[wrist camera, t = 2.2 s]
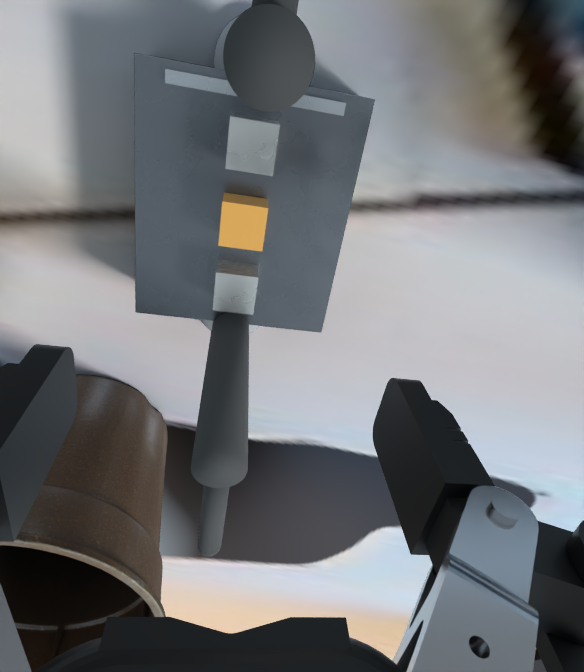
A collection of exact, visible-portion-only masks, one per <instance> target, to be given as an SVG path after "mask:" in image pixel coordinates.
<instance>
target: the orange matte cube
mask: <svg viewBox="0 0 584 672" xmlns="http://www.w3.org/2000/svg"><path fill="white" fill-rule="evenodd" d="M267 215H268V201H267V199H265V198H258V197H252V196H245V195H239V194H232V193H225V192H224V196H223V200H222V210H221V221H220V232H219V243H218V246H224V247H231V248H239V249H246V250H254V251H261V252H262V250H263V243H264V236H265V229H266V222H267Z"/></svg>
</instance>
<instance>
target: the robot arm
mask: <svg viewBox="0 0 584 672" xmlns="http://www.w3.org/2000/svg"><path fill="white" fill-rule="evenodd" d="M76 409H77V390H76V378H75V366H74V355H73V351H72V349H71V348H70V347H60V346H50V345H39V344H36V345H34V346H33V347H32V348H31V350H30V351H29V352H28V353H27V355H26V356H25V357H24V359H23V360H22V361H21V362H20V364H13V363H7V364H6V365H4V366H2V367H0V541H2V542H14V541H15V539H16V537H17V535H18V533H19V531H20V529H21V527H22V525H23V523H24V521H25V519H26V517H27V515H28V513H29V511H30V509H31V507H32V505H33V503H34V501H35V499H36V497H37V495H38V493H39V491H40V489H41V487H42V485H43V483H44V480H45V478H46V476H47V474H48V472H49V470H50V468H51V466H52V464H53V462H54V460H55V458H56V456H57V454H58V452H59V450H60V448H61V446H62V444H63V442H64V440H65V438H66V436H67V434H68V432H69V430H70V428H71V426H72V424H73V421H74V418H75V414H76ZM373 442H374V446H375V449H376V452H377V455H378V458H379V461H380V464H381V467H382V470H383V473H384V476H385V479H386V482H387V485H388V488H389V491H390V494H391V497H392V500H393V503H394V506H395V509H396V512H397V515H398V518H399V521H400V524H401V527H402V530H403V533H404V536H405V538H406V541H407V544H408V547H409V550H410V553H411V554H413V555H429V556H430V559H431V561H432V566H431V568H430V570H429V572H428V574H427V577H426V579H425V582H424V585H423V587H422V590H421V592H420V595H419V597H418V600H417V603H416V605H415V608H414V610H413V613H412V616H411V618H410V621H409V623H408V626H407V628H406V631H405V634H404V636H403V639H402V641H401V643H400V646H399V648H398V650H397V652H396V654H395V656H394V658H393V661H392V660H390V659H389V658H388V657H386V656H385V655H384V654H383V653H381V652H379V651H378V650H376V649H374V648H373V647H371V646H369V645H367V644H365V643H362V642H360V641H358V640H356V639H353V638H350V637H349V633H348V627H347V622H346V618H313V617H290V618H287V619H284V620H280V621H277V622H273V623H270V624H266V625H263V626H259V627H256V628H252V629H249V630H245V631H242V632H238V633H234V634H228V633H223V632H220V631H217V630H213V629H210V628H206V627H203V626H199V625H196V624H192V623H189V622H185V621H182V620H178V619H175V618H171V617H107V620H106V624H105V627H104V631H103V635H102V637H101V638H97V639H94V640H91V641H88V642H86V643H83V644H81V645H78V646H76V647H73V648H71V649H70V650H68V651H66V652H64V653H62V654H60V655H58V656H57V657H55V658H54V659H52V660H51V661H49V662H47V663H46V664H44V665H43V666H41V667H40V668H39V669H38V670H36V671H35V672H533V665H534V657H535V648H537V651H538V653H539V655H540V657H541V659H542V661H543V664H544V666H545V668H546V670H547V672H584V521H582V522H581V523H580V525H579V526H578V527H577V529H576V530H575V531H574V532H571V531H567V530H564V529H561V528H558V527H555V526H552V525H549V524H546V523H542V522H539V521H537V519H536V517H535V515H534V514H533V512H532V511H531V510H530V508H529V507H528V506H527V505H526V504H525V503H524V502H523V501H522V500H520V499H519V498H518V497H516V496H515V495H513V494H512V493H510V492H508V491H506V490H504V489H501V488H498V487H495V485H494V484H493V482H492V480H491V479H490V477H489V475H488V474H487V472H486V470H485V469H484V467H483V465H482V464H481V462H480V460H479V458H478V457H477V455H476V453H475V452H474V450H473V448H472V447H471V445H470V444H468V440H467V438H466V437H465V435H464V433H463V432H461V428H460V426H459V425H458V423H457V421H456V420H455V418H454V416H453V415H452V413H450V412H449V411H448V410H447V409H446V408H445V407H444V406H443V405H442V404H440V403H439V402H438V401H435V400H431V398H430V397H429V395H428V393H427V391H426V389H425V388H424V386H423V384H422V383H421V382H420V381H419V380H408V379H397V378H391V379H390V380H389V381H388V383H387V386H386V389H385V392H384V395H383V398H382V401H381V404H380V407H379V409H378V412H377V415H376V418H375V421H374V426H373ZM0 672H32V671H31V668H30V666H29V663H28V660H27V657H26V654H25V652H24V649H23V646H22V643H21V640H20V637H19V635H18V632H17V629H16V626H15V623H14V620H13V618H12V615H11V612H10V609H9V606H8V603H7V601H6V598H5V595H4V592H3V589H2V587H1V584H0Z"/></svg>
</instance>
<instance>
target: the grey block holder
mask: <svg viewBox="0 0 584 672" xmlns="http://www.w3.org/2000/svg"><path fill="white" fill-rule="evenodd" d="M134 96H135V298H136V312H138V313H147V314H156V315H165V316H174V317H184V318H193V319H202V320H211V321H215V319H216V318H217V317H219V316H220V315H222V314H226V313H234V314H238V315H240V316H242V317H243V318H244V319H245V320H246V322H247V323H248V325H257V326H266V327H276V328H285V329H294V330H303V331H312V332H321V331H322V327H323V322H324V318H325V314H326V309H327V305H328V301H329V296H330V292H331V288H332V283H333V279H334V275H335V270H336V266H337V262H338V257H339V253H340V249H341V244H342V240H343V236H344V231H345V227H346V223H347V218H348V214H349V210H350V205H351V201H352V197H353V192H354V188H355V184H356V179H357V175H358V171H359V166H360V162H361V158H362V153H363V149H364V145H365V140H366V136H367V132H368V127H369V123H370V119H371V114H372V110H373V106H374V101H375V99H370V98H366V97H362V96H357V95H352V94H346V93H341V92H336V91H331V90H326V89H321V88H315V87H310V86H309V87H308V89H307V90H306V92H305V93H304V95H303V96H302V97H301V98H300V99H299V100H298V101H297V102H296V103H295V104H293V105H292V106H290V107H288V108H286V109H283V110H281V111H275V112H266V111H260V110H257V109H255V108H252V107H250V106H249V105H247V104H246V103H244V102H243V101H242V100H241V99H240V98H239V97H238V96H237V95H236V94H235V92H234V91H233V89H232V88H231V86H230V84H229V82H228V80H227V77H226V74H225V70H222V69H217V68H212V67H207V66H202V65H196V64H191V63H186V62H181V61H176V60H171V59H165V58H160V57H155V56H150V55H143V54H137V53H134ZM224 192H225V193H232V194H239V195H245V196H252V197H258V198H265V199H267V201H268V215H267V222H266V229H265V236H264V243H263V250H262V252H261V251H254V250H246V249H239V248H231V247H224V246H218V243H219V232H220V221H221V210H222V200H223V196H224Z"/></svg>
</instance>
